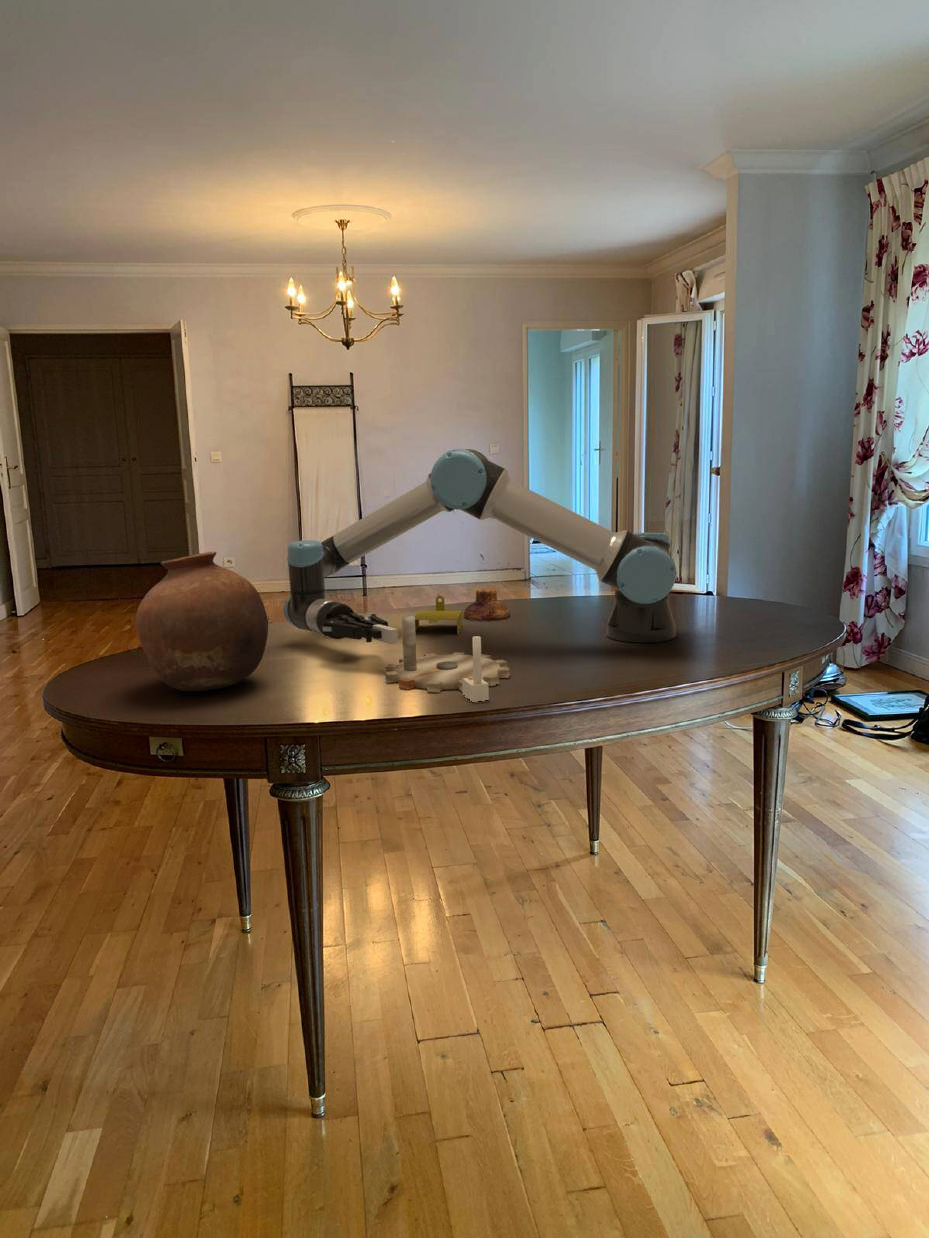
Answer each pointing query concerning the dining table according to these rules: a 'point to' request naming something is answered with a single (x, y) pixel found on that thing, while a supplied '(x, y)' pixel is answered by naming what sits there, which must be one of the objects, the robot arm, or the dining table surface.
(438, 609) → the bracket
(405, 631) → the sprocket
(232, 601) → the pottery
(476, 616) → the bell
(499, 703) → the dining table surface
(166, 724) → the dining table surface
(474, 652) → the index post
